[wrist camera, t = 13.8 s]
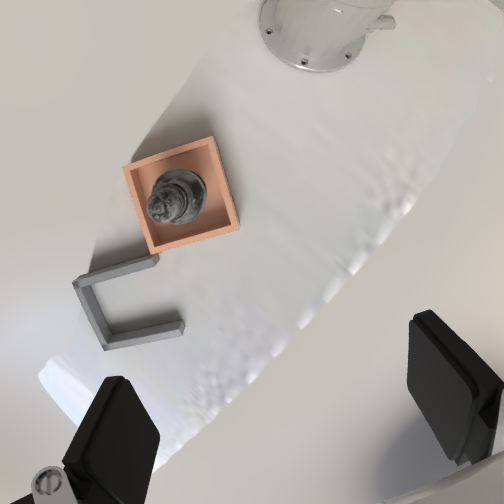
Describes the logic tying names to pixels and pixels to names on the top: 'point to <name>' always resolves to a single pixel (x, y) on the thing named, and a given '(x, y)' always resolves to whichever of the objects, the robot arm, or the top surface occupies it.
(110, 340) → the cubby
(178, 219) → the chess piece
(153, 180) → the dish
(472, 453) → the robot arm
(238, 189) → the top surface
